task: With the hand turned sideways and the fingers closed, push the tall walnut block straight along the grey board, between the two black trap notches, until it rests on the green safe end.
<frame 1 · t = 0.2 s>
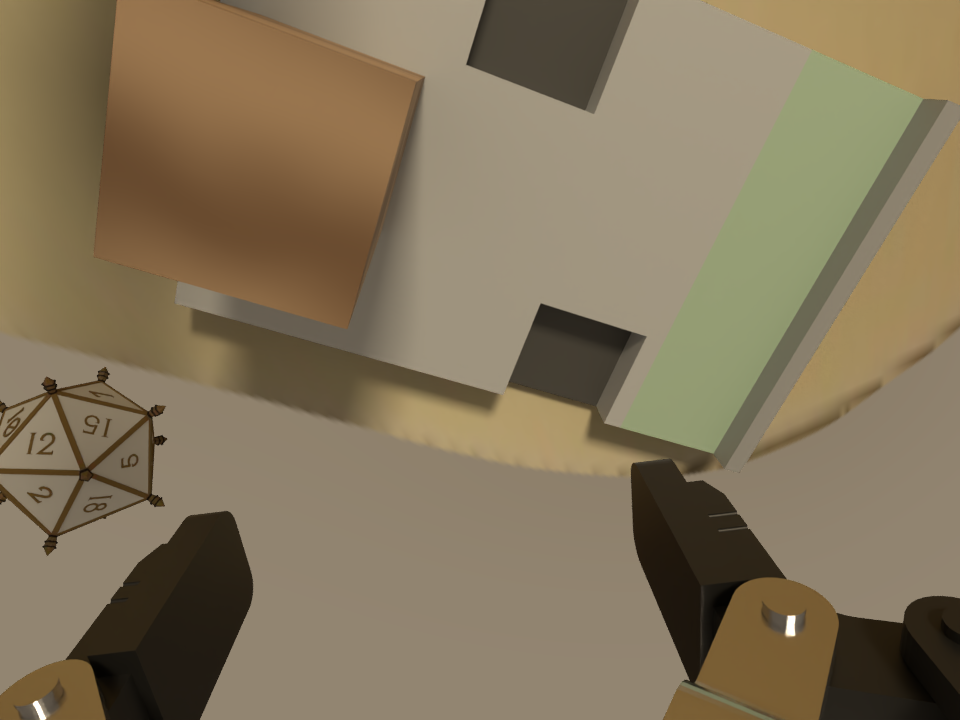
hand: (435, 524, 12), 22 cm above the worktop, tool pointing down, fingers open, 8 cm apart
walnut block: (324, 130, 27), point 2 cm above the worktop, touching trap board
game die: (117, 412, 35), on the worktop
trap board: (538, 197, 31), on the worktop
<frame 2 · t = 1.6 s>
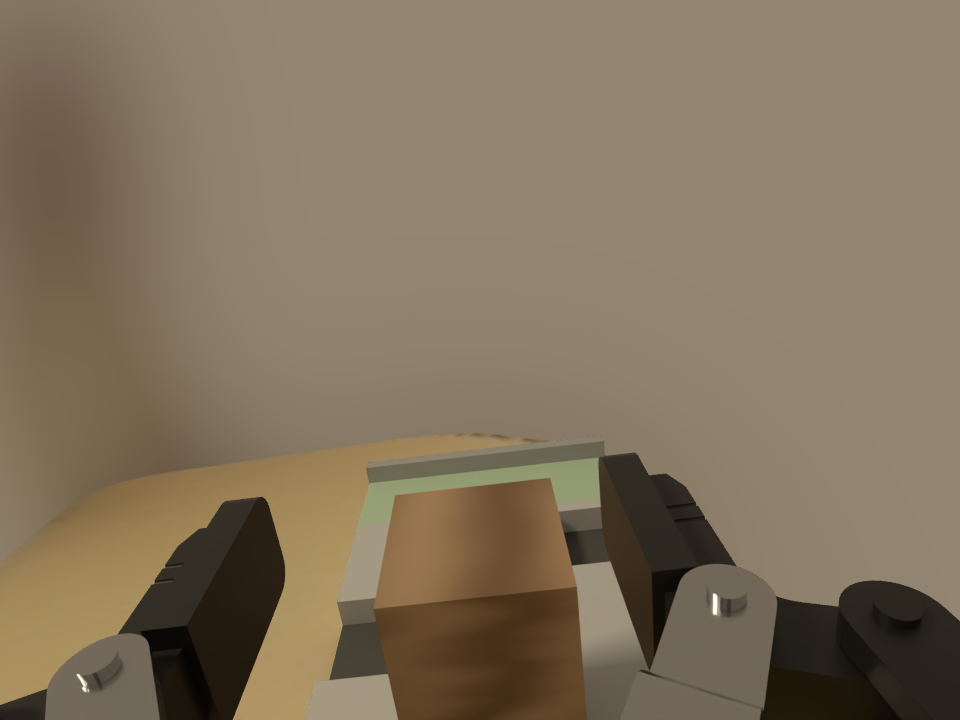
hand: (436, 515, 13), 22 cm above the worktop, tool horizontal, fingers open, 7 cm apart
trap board: (498, 621, 39), on the worktop
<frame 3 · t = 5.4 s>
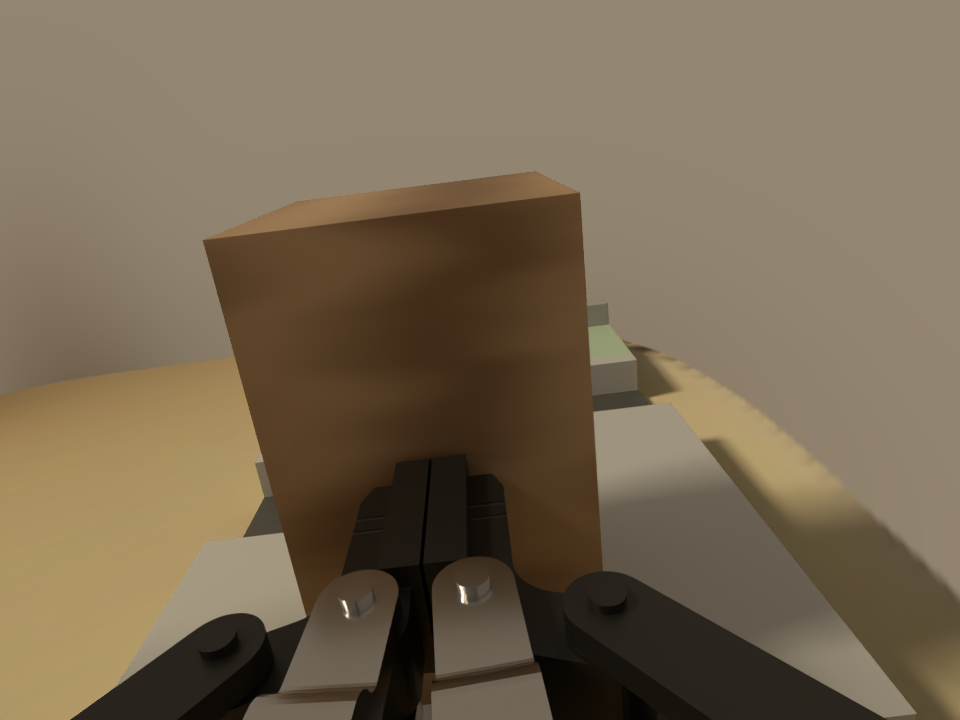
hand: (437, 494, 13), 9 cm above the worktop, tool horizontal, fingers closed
walnut block: (469, 600, 19), point 2 cm above the worktop, touching gripper, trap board
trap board: (472, 488, 29), on the worktop
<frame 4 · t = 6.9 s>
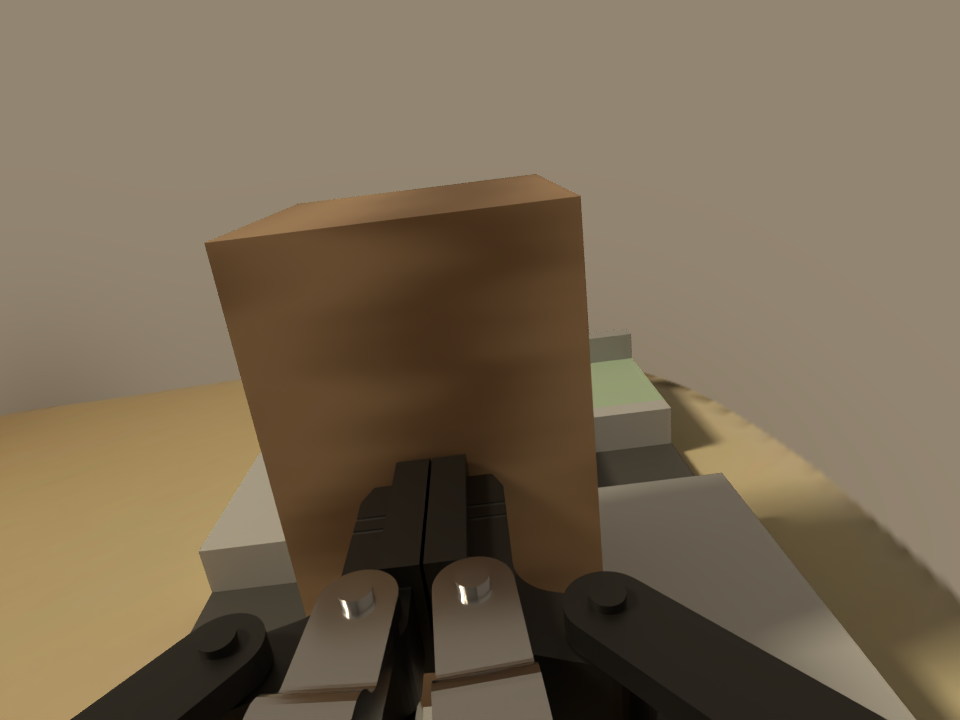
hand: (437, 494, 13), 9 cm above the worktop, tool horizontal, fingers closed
walnut block: (469, 602, 19), point 2 cm above the worktop, touching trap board
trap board: (473, 582, 23), on the worktop
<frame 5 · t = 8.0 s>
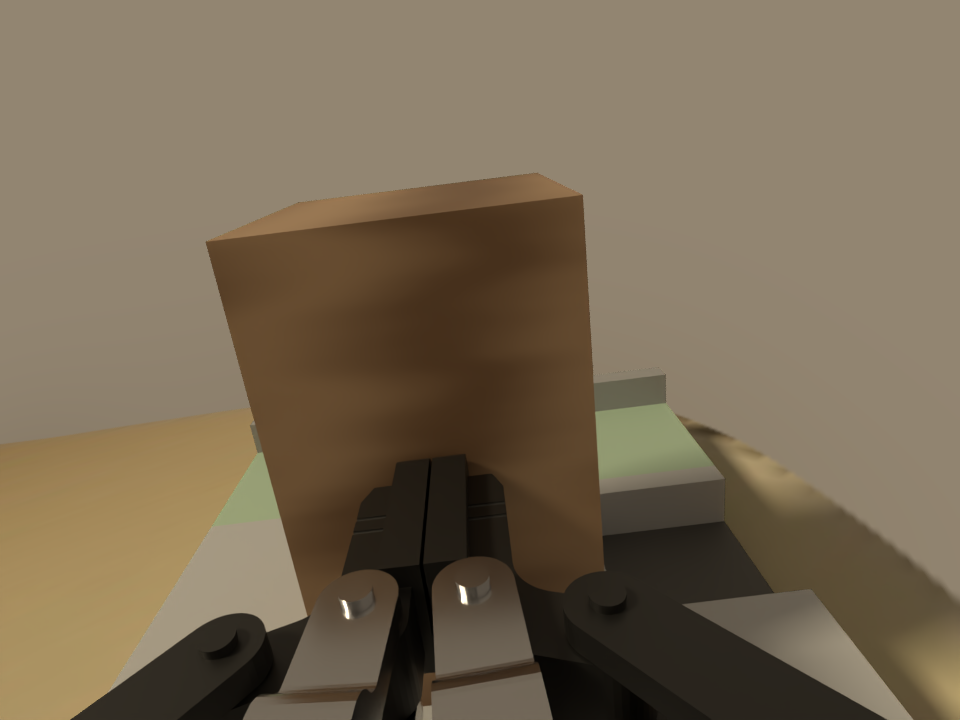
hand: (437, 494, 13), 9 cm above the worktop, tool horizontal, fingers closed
walnut block: (470, 601, 19), point 2 cm above the worktop, touching gripper, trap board
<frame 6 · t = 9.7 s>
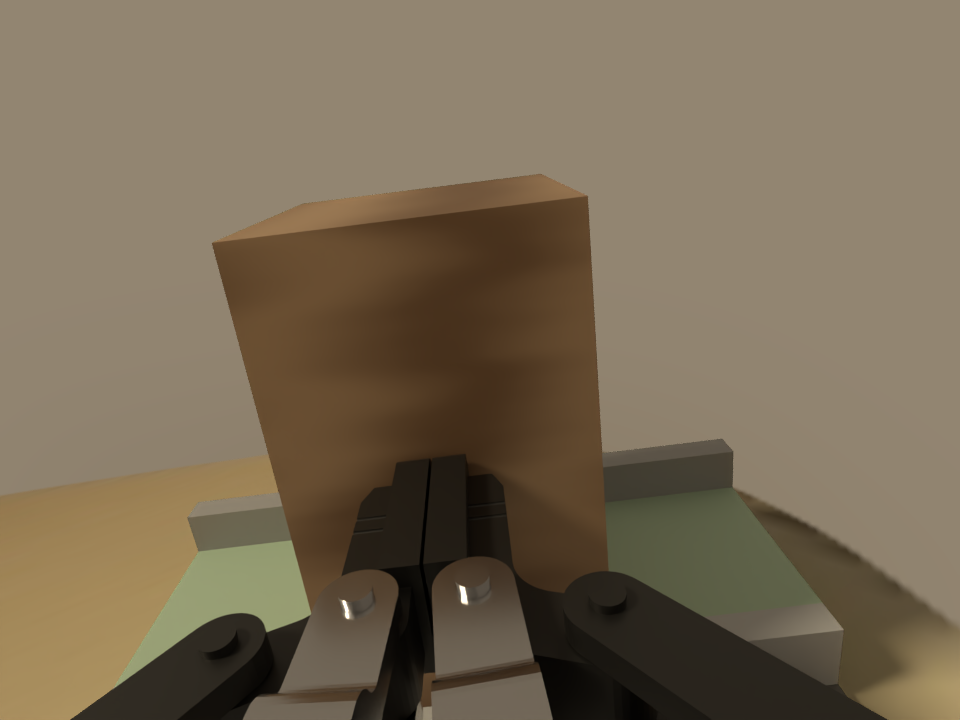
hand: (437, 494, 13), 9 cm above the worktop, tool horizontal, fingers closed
walnut block: (473, 602, 19), point 3 cm above the worktop
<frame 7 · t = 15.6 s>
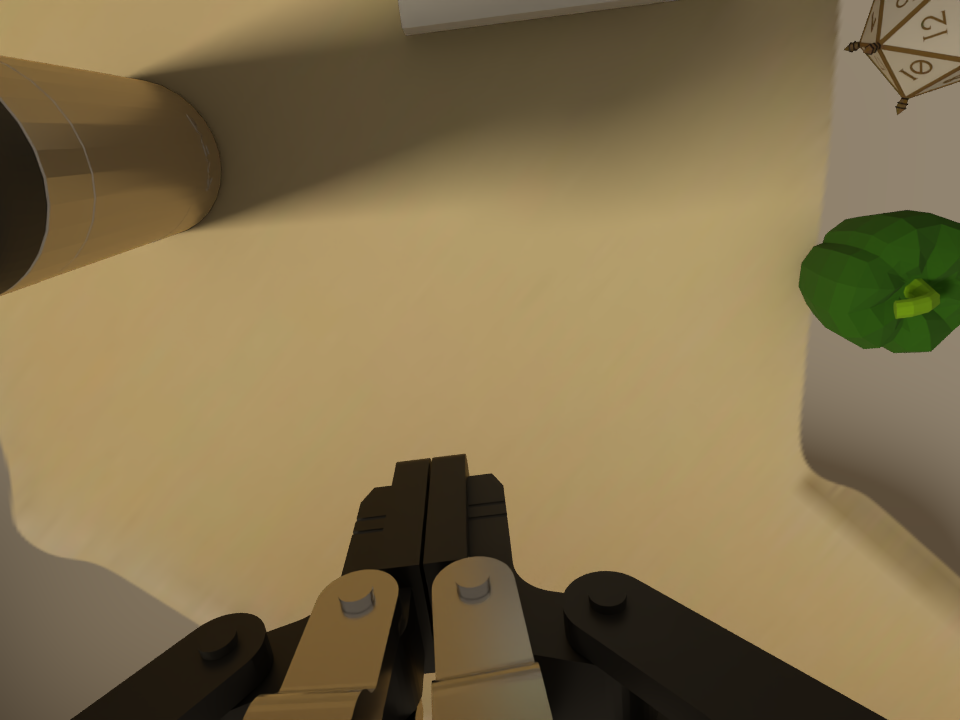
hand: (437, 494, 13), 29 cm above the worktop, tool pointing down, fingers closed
game die: (891, 29, 37), on the worktop
bell pepper: (839, 263, 42), on the worktop
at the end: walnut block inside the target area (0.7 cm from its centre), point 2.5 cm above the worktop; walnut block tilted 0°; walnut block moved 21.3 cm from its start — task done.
